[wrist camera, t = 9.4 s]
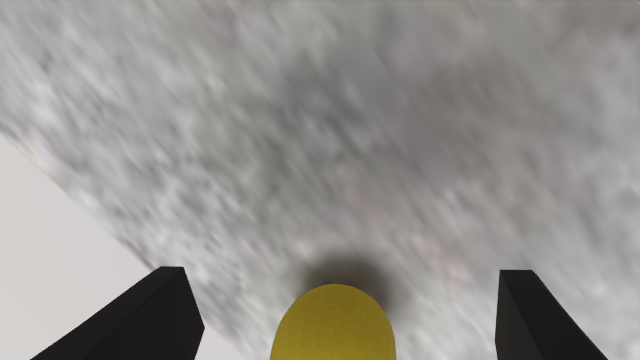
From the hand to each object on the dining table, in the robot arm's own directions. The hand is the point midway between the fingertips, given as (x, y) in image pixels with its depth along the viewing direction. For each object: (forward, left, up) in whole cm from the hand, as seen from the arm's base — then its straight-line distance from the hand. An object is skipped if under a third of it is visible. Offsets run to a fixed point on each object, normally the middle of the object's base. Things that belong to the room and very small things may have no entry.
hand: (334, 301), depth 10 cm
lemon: (+2, +9, -10) cm, 14 cm away
